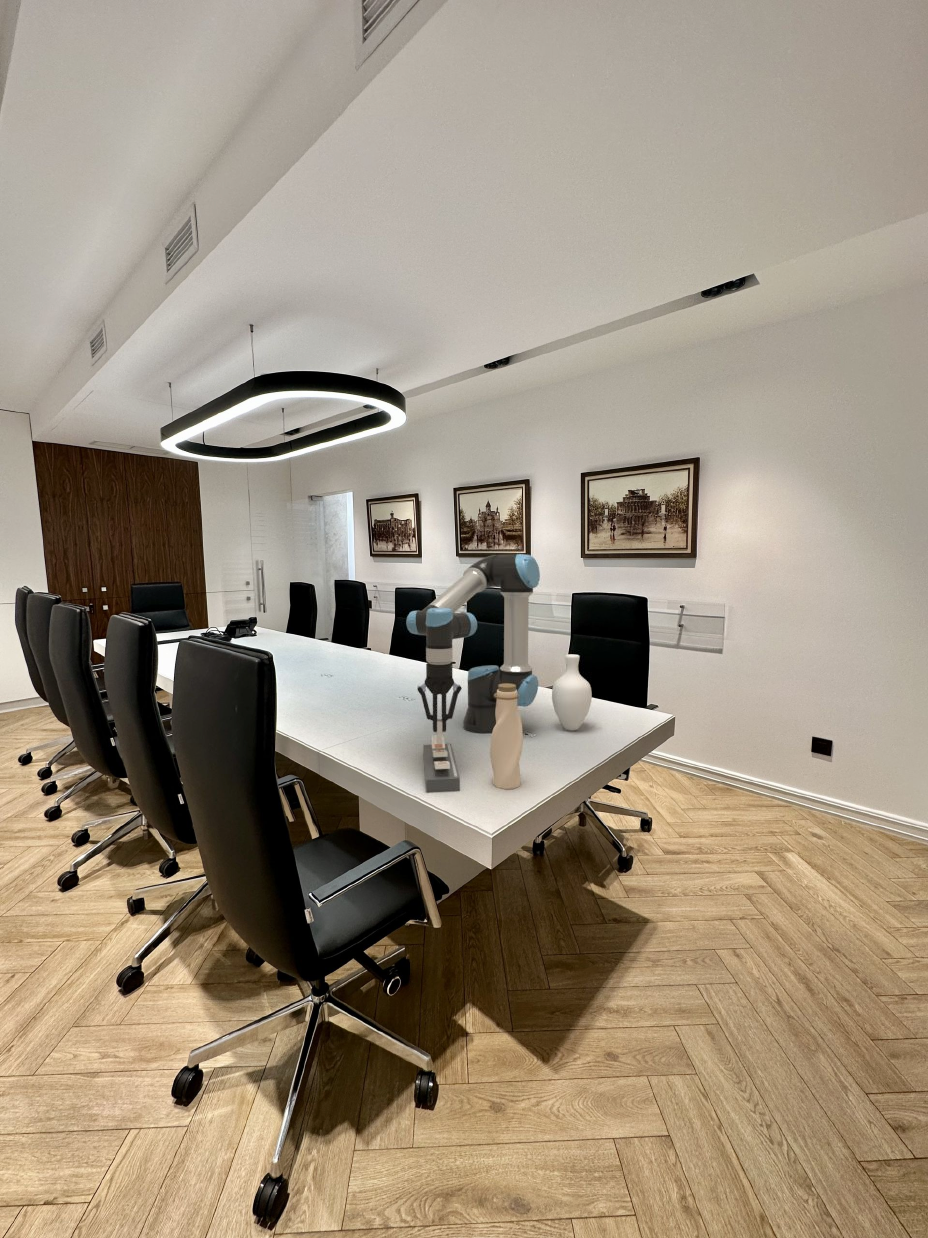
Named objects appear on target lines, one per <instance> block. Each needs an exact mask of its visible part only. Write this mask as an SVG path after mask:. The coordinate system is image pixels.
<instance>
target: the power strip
mask: <svg viewBox="0 0 928 1238" xmlns="http://www.w3.org/2000/svg"><path fill="white" fill-rule="evenodd" d="M422 748H423V750H422V751H423V753H422V754H423V764H424V765H423V766H424V776H425V778H424V779H425V789H426V793H443V792H444V793H445V792H458V791H459V792H460V791H461V789H460V787H461V785H460V783H461V782H460V781H461V780H460V779H461V778H460V774H459V770H458V766H457V763H456V762H457V761H456V758H455V754H454V750H453V745H452V743H445V750H446V751H447V757H433V752H432V743H431V744H422ZM438 761H448V762H449V763H450V769H435V767H434V762H438Z"/></svg>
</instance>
